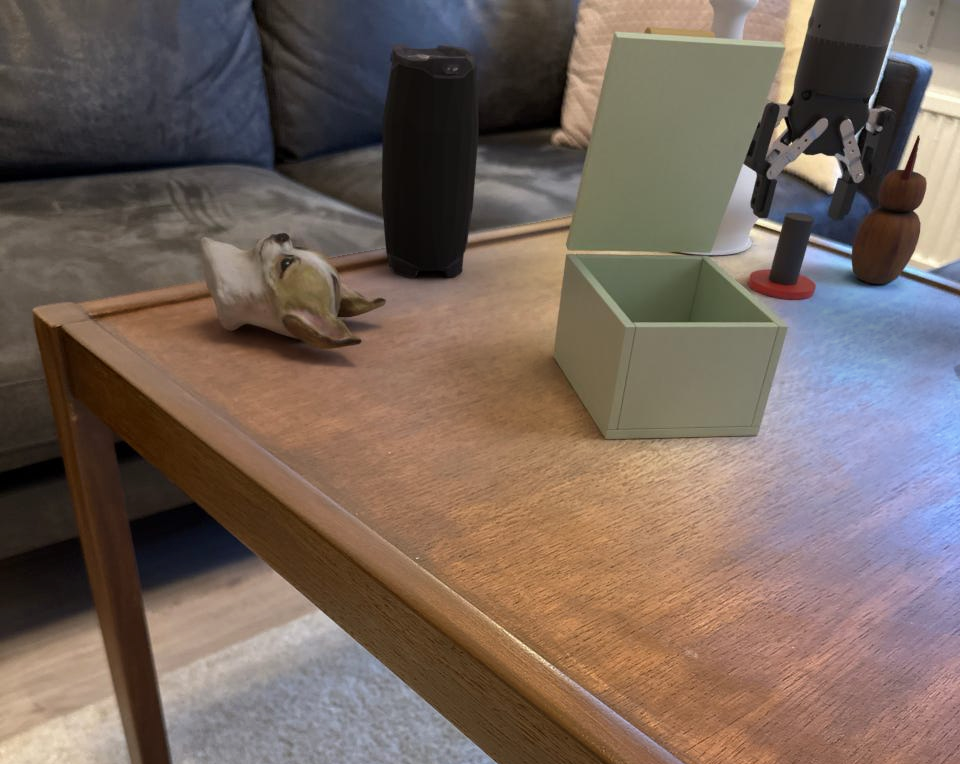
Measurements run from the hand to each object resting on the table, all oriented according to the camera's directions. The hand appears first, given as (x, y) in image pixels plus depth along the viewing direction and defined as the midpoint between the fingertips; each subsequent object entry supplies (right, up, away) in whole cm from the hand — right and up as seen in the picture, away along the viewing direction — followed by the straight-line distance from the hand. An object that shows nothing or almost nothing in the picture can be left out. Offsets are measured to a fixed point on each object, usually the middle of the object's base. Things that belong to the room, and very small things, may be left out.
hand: (797, 217), depth 101 cm
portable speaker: (-38, -5, +1) cm, 39 cm away
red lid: (0, -6, +5) cm, 7 cm away
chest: (-19, -23, -19) cm, 35 cm away
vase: (-8, +5, +18) cm, 20 cm away
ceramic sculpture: (-49, -17, -15) cm, 54 cm away
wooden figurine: (+11, -3, +9) cm, 15 cm away
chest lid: (-18, -7, -26) cm, 32 cm away
